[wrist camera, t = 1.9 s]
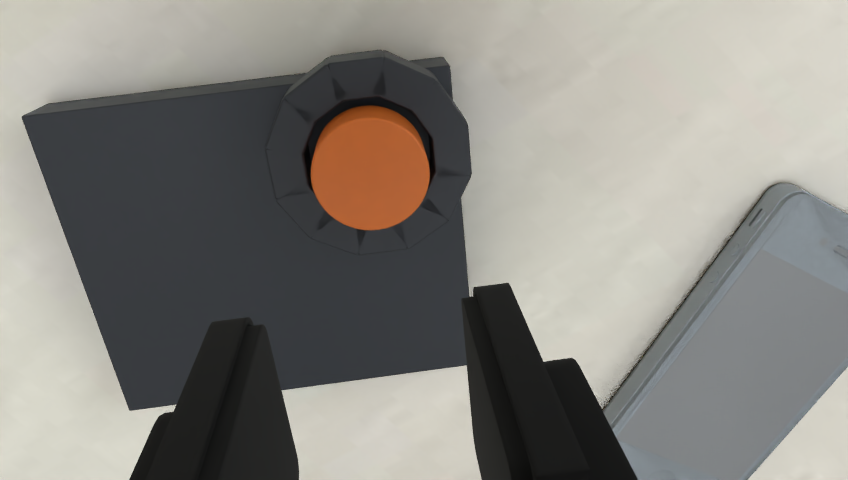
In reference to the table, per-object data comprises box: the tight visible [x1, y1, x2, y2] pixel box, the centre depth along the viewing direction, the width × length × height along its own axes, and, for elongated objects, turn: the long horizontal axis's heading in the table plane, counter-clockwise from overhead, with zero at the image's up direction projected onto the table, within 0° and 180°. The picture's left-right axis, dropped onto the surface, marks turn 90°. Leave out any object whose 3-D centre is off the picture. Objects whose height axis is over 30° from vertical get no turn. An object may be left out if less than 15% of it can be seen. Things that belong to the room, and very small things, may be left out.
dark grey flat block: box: [22, 50, 472, 411], centre depth 23 cm, size 14×13×4 cm
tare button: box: [311, 105, 430, 230], centre depth 20 cm, size 4×4×2 cm
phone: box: [603, 183, 848, 480], centre depth 29 cm, size 8×16×1 cm, turn 153°
